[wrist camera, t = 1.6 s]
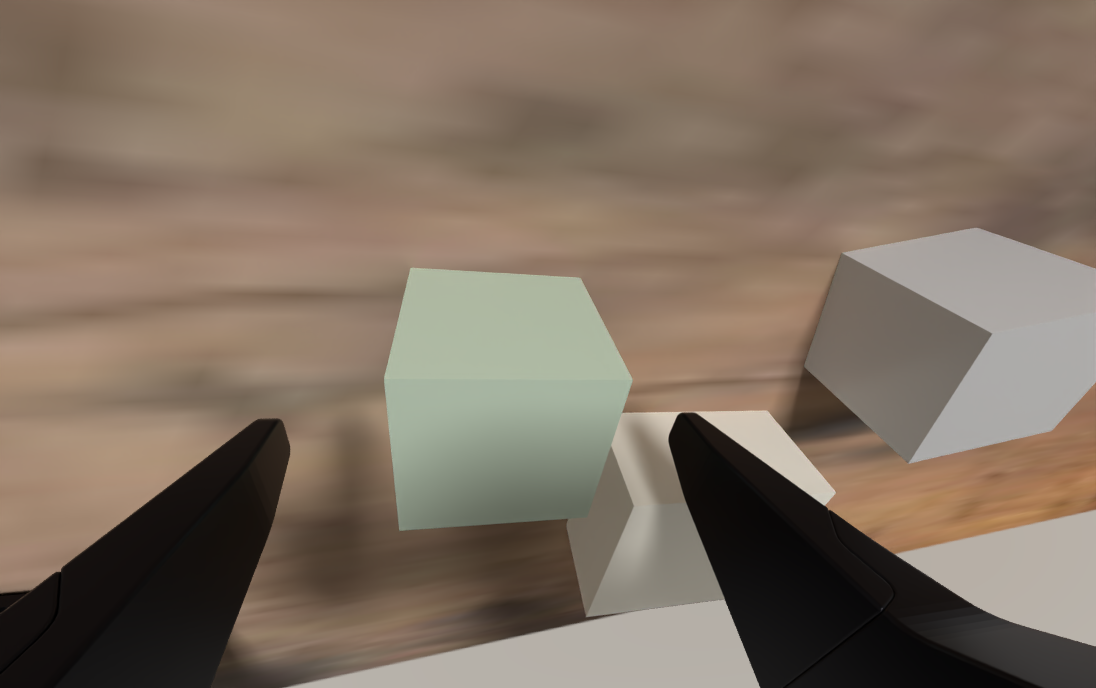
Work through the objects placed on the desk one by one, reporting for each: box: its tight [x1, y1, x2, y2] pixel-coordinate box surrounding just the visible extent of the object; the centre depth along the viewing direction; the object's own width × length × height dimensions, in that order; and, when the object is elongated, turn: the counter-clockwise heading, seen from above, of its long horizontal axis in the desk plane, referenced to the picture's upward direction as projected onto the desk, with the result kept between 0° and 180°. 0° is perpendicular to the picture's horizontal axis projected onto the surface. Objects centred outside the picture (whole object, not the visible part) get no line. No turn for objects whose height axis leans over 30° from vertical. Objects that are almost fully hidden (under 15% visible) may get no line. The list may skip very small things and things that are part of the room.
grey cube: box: [804, 228, 1096, 463], centre depth 12 cm, size 4×4×4 cm
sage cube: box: [384, 268, 633, 531], centre depth 10 cm, size 4×4×4 cm
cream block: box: [566, 411, 836, 617], centre depth 16 cm, size 7×7×4 cm
